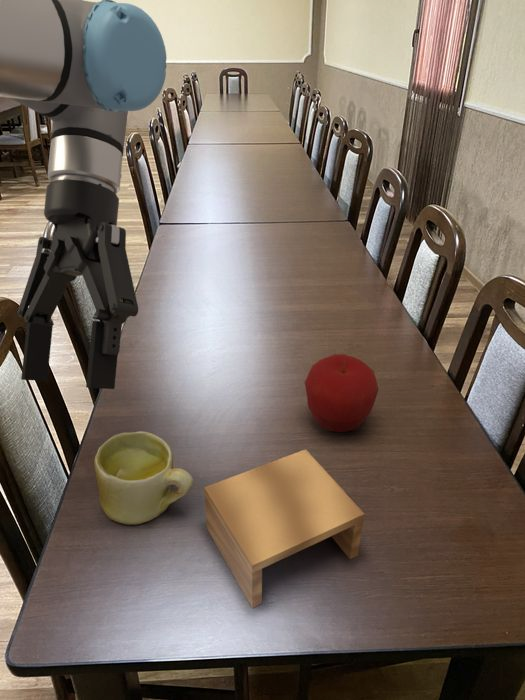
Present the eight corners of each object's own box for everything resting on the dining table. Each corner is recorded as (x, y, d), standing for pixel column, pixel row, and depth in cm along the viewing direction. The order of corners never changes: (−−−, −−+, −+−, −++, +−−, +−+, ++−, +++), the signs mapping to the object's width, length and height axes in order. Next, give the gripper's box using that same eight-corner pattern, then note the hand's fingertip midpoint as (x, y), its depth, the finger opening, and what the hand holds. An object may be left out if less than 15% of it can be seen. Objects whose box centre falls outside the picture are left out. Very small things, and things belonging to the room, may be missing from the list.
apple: (299, 403, 88) (303, 341, 82) (364, 402, 88) (372, 341, 82) (306, 448, 79) (310, 382, 72) (379, 447, 79) (389, 381, 73)
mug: (66, 504, 66) (84, 437, 63) (124, 474, 75) (143, 415, 72) (137, 563, 62) (161, 496, 58) (190, 525, 71) (213, 464, 67)
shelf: (252, 608, 57) (252, 565, 53) (206, 528, 66) (203, 487, 62) (358, 555, 63) (364, 513, 59) (303, 488, 72) (305, 448, 68)
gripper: (186, 179, 53) (167, 393, 52) (58, 215, 69) (41, 379, 68) (121, 151, 47) (98, 391, 46) (-1, 197, 64) (-21, 375, 63)
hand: (64, 384), depth 57 cm, fingers open, 13 cm apart
